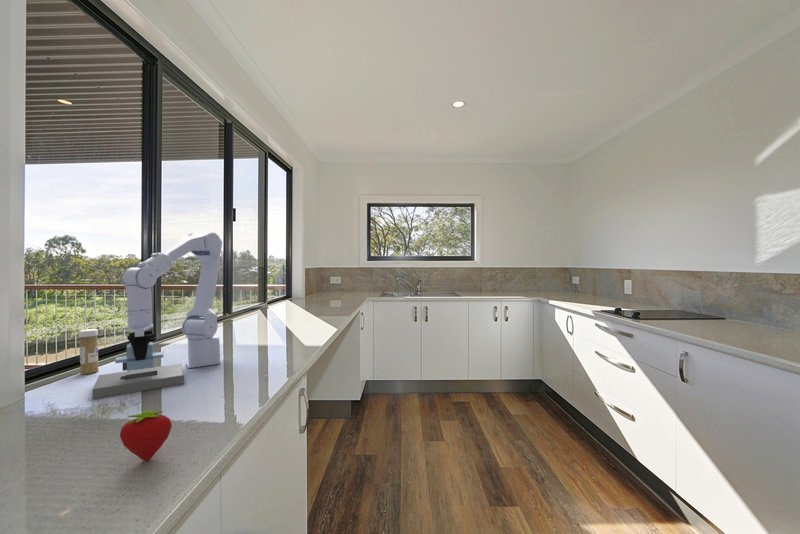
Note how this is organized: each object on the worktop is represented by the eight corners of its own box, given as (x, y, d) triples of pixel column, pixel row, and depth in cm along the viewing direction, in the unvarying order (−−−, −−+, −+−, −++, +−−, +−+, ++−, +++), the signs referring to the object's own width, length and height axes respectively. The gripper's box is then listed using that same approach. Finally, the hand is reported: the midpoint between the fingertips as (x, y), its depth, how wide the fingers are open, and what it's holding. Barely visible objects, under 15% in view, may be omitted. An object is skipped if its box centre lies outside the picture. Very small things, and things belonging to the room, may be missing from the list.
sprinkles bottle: (97, 372, 116) (96, 330, 116) (78, 375, 114) (77, 331, 113) (99, 369, 120) (98, 327, 120) (81, 371, 118) (80, 329, 117)
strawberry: (169, 464, 63) (167, 405, 63) (115, 474, 61) (113, 413, 60) (175, 448, 69) (174, 394, 69) (126, 456, 66) (124, 400, 66)
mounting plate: (181, 371, 117) (180, 363, 117) (184, 383, 105) (183, 374, 105) (99, 383, 106) (99, 375, 106) (92, 399, 94) (92, 389, 94)
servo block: (163, 362, 110) (163, 338, 110) (163, 366, 107) (163, 340, 106) (116, 369, 104) (116, 343, 104) (115, 372, 101) (114, 345, 100)
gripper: (123, 308, 109) (125, 354, 109) (120, 314, 97) (121, 366, 97) (152, 306, 113) (153, 351, 113) (152, 311, 101) (153, 362, 101)
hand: (140, 358), depth 105 cm, fingers closed on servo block, 4 cm apart
